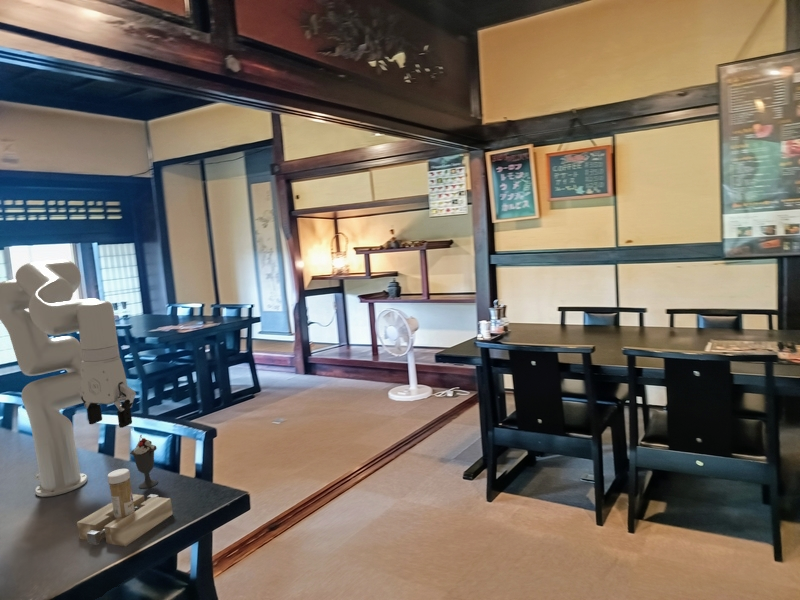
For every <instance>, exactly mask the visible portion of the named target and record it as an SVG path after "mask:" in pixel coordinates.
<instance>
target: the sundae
mask: <svg viewBox="0 0 800 600" xmlns="http://www.w3.org/2000/svg"><path fill="white" fill-rule="evenodd" d="M139 439H140V440H139V441H138V442H137V444H136V447H135V448H134V449H132V450H130V453H129V455H132V456H133V459H134V462H135V465H136V468H137V471H138V472H139V473H142V474H144V481H143V482H141V483H140V484H139V485H138V489H141V490H142V489H143V490H147V489H150V488H154V487H156V485H158V483H159V481H158V480H156V479H151V477H150V472H151V471H152V470H153V468H154V466H155V451H156V450H157V449H158V448H157V446H156V445H154V444H152V441H151V440H149V439H146V438H145V437H142V434H140V435H139Z"/></svg>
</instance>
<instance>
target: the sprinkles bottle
mask: <svg viewBox="0 0 800 600" xmlns="http://www.w3.org/2000/svg"><path fill="white" fill-rule="evenodd" d="M107 482H108V485H109V489H110V495H111V496H110V497H111V498H110V499H111V502H112V505H113V511H114V516H115V519H117V518H125V517H127V516H129V515H130V514H132V513H133V512H135V508H134V502H133V496H132V494H133V491H132V486H131V473H130V469H128V468H120V469H119V468H118V469H115V470H113V471H111V472H109V473H108V474H107Z"/></svg>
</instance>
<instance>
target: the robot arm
mask: <svg viewBox="0 0 800 600" xmlns="http://www.w3.org/2000/svg"><path fill="white" fill-rule="evenodd" d="M80 271H81V270H80V268H79V267H78V265H76V264H75V263H74V262H72V261H71V260H68V259H58V260H57V259H56V260H45V261H42V260H41V261H34V262H33V261H31V262H29V263H26V264H23V265H22V266H20V267H19V268H18V269H17V271H16V273H15V278H14V279H8V280H4V281H1V282H0V322H1V323H2V324H3V326H4V327H5V329H6V331H7V333H8V335H9V337H10V342H11V344H12V348H13V352H14V353H15V354H14V355H15V358H16V361H17V363H18V367H19V369H20V371H21V373H22V374H23V375H24V376H28V377H32V376H33V377H34V376H40V375H45V374H48V373H49V374H50V373H55V372H57V371H62V370H63V371H64V370H65V371H66V372H65V373H60V374H58V375H51V376H47V377H43V378H40V379H37V380H34V381H31V382H29V383H28V384H26V385H25V386H24V387H23V388H22V391H21V399H22V404H23V407H24V410H25V412H26V414H27V417H28V420H29V424H30V429H31V434H32V439H33V444H34V450H35V457H36V463H37V468H38V472H39V473H38V474H35V475H34V479H35V480H38V481H39V485H38V486H36V487H35V495H37V496H39V497H54V496H59V495H63V494H66V493H69V492H71V491H72V492H73V491H74V490H77V489H79V488H80V487H82V486H83V485H85V484H86V483H87V481H88V475H87V474H85V473H81V471H80V470H81V469H80V463H79V458H78V453H77V452H78V451H77V445H76V441H75V439H76V438H75V433H74V427H73V423H72V422H71V420H70V419H69V418H68V417H67V416H66V415H64V414H62V413H61V412H60V411H61V410H64V409H66V408H70V407H72V406H77V405H79V404H80V405H81V404H83V403H84V405H83V406H84V408H85V409H86V411H87V412H86V413H87V418H88V424H89V425H94V424H96V423H99V422H101V421H103V415H102V406H101V405H112V404H114V405H115V406H116V408H117V409H118V411H116V415H117V421H118V427H119V428H125V427H127V426H129V425H131V424H133V418H132V410H131V408H133V404H134V403H135V397H136V394H137V393H136V391H135V390H134V389H133V388H132V387H129V386H128V381H127V377H126V372H125V367H124V366H123V361H122V358H120V351H119V350H120V349H119V343H118V334H117V326H116V320H115V312H114V306H113V304H112V303H111V302H110V301H107V300H101V299H99V298H95V297H93V298H83V299H75V300H72V299H73V295H74V293H75V292H76V290H77V291H78V288H79V286H80V284H81V281H82V280H81V279H82V275H81V272H80ZM27 309H28V311H27ZM78 332H79V339H80V340H78V339H77V338H75V337H74V336H72V335H66V334H72V333H78ZM48 335H49V336H58V337H53V338H50V337H49V336H48ZM60 335H61V336H60ZM63 335H64V336H63ZM121 402H123V403H121Z"/></svg>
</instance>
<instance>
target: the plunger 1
mask: <svg viewBox="0 0 800 600" xmlns="http://www.w3.org/2000/svg"><path fill="white" fill-rule="evenodd" d="M111 522H112V521H111ZM104 533H105V529H103V530H102V531H93V530H91V531H90V532H88V533H87V537H88V540H87V543H88V544H90V545H98V544H100V543H101V542H102V539H101V538H100V535H102V534H104Z"/></svg>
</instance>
